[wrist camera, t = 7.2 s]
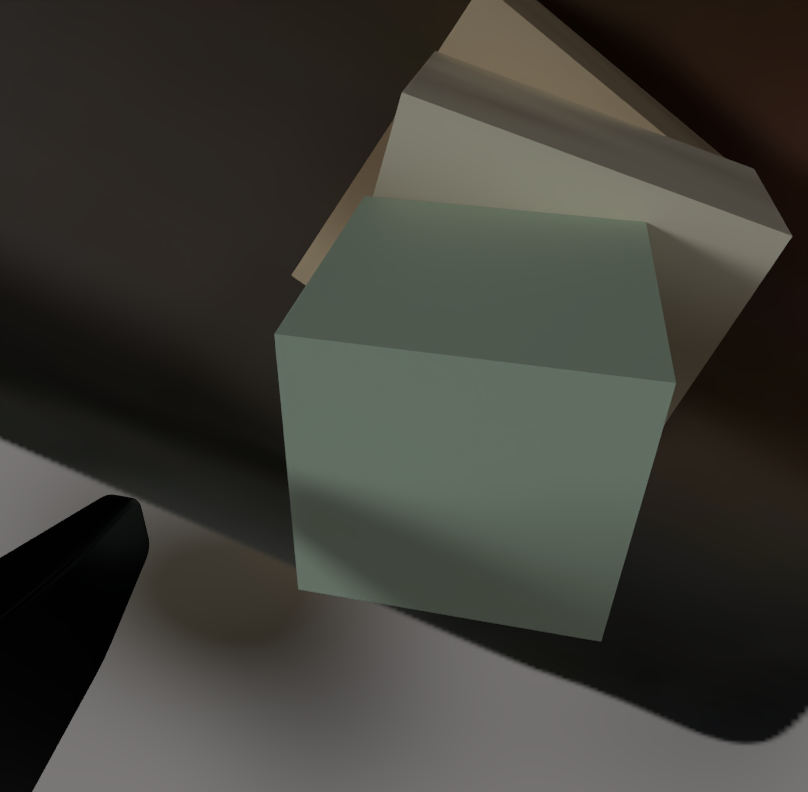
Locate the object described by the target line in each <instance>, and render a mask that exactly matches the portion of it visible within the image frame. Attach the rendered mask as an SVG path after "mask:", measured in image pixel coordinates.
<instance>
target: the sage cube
mask: <svg viewBox="0 0 808 792" xmlns="http://www.w3.org/2000/svg"><path fill="white" fill-rule="evenodd" d="M274 335H275V346H276V357H277V367H278V378H279V389H280V399H281V410H282V421H283V431H284V442H285V453H286V463H287V474H288V485H289V495H290V506H291V517H292V527H293V538H294V549H295V559H296V570H297V581H298V589H299V590H305V591H311V592H317V593H323V594H329V595H334V596H340V597H346V598H352V599H358V600H363V601H369V602H374V603H380V604H386V605H392V606H398V607H403V608H409V609H415V610H421V611H427V612H432V613H438V614H444V615H450V616H456V617H461V618H467V619H473V620H479V621H485V622H490V623H496V624H502V625H508V626H514V627H519V628H525V629H531V630H537V631H542V632H548V633H554V634H560V635H566V636H571V637H577V638H583V639H589V640H595V641H600V642H601V640H602V637H603V633H604V630H605V627H606V623H607V620H608V616H609V613H610V609H611V606H612V602H613V599H614V596H615V592H616V589H617V585H618V582H619V578H620V575H621V571H622V568H623V565H624V561H625V558H626V554H627V551H628V547H629V544H630V540H631V537H632V533H633V530H634V527H635V523H636V520H637V516H638V513H639V509H640V506H641V502H642V499H643V496H644V492H645V489H646V485H647V482H648V478H649V475H650V471H651V468H652V465H653V461H654V458H655V454H656V451H657V447H658V444H659V440H660V437H661V433H662V430H663V427H664V423H665V420H666V416H667V413H668V409H669V406H670V402H671V399H672V396H673V392H674V389H675V385H676V380H675V375H674V369H673V364H672V359H671V353H670V348H669V342H668V337H667V332H666V326H665V321H664V316H663V310H662V305H661V300H660V294H659V289H658V284H657V278H656V273H655V268H654V262H653V257H652V251H651V246H650V241H649V235H648V230H647V225H646V222H640V221H629V220H618V219H607V218H597V217H586V216H575V215H564V214H554V213H543V212H532V211H522V210H511V209H500V208H489V207H479V206H468V205H457V204H446V203H436V202H425V201H414V200H403V199H393V198H382V197H371V196H364V198H363V199H362V201H361V202H360V204H359V205H358V207H357V208H356V210H355V212H354V213H353V215H352V216H351V218H350V219H349V221H348V222H347V224H346V225H345V227H344V228H343V230H342V231H341V233H340V234H339V236H338V238H337V239H336V241H335V242H334V244H333V245H332V247H331V248H330V250H329V251H328V253H327V254H326V256H325V257H324V259H323V260H322V262H321V263H320V265H319V267H318V268H317V270H316V271H315V273H314V274H313V276H312V277H311V279H310V280H309V282H308V283H307V285H306V286H305V288H304V289H303V291H302V293H301V294H300V296H299V297H298V299H297V300H296V302H295V303H294V305H293V306H292V308H291V309H290V311H289V312H288V314H287V315H286V317H285V318H284V320H283V322H282V323H281V325H280V326H279V328H278V329H277V331H276V332H275V334H274Z"/></svg>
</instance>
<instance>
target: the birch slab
mask: <svg viewBox="0 0 808 792" xmlns="http://www.w3.org/2000/svg"><path fill="white" fill-rule="evenodd" d="M373 197H382V198H393V199H403V200H414V201H425V202H436V203H446V204H457V205H468V206H479V207H489V208H500V209H511V210H522V211H532V212H543V213H554V214H564V215H575V216H586V217H597V218H607V219H618V220H629V221H640V222H646V225H647V230H648V235H649V241H650V246H651V251H652V257H653V262H654V268H655V273H656V278H657V284H658V289H659V294H660V300H661V305H662V310H663V316H664V321H665V326H666V332H667V337H668V342H669V348H670V353H671V359H672V364H673V369H674V375H675V380H676V385H675V389H674V392H673V396H672V399H671V402H670V406H669V409H668V413H667V416H666V420H665V423H666V422H667V420H668V419H669V417H670V416H671V414H672V413H673V411H674V410H675V408H676V407H677V405H678V404H679V402H680V401H681V399H682V398H683V397H684V395H685V394H686V392H687V391H688V389H689V388H690V386H691V385H692V383H693V382H694V380H695V379H696V377H697V376H698V374H699V373H700V371H701V370H702V369H703V367H704V366H705V364H706V363H707V361H708V360H709V358H710V357H711V355H712V354H713V352H714V351H715V349H716V348H717V346H718V345H719V344H720V342H721V341H722V339H723V338H724V336H725V335H726V333H727V332H728V330H729V329H730V327H731V326H732V324H733V323H734V321H735V320H736V319H737V317H738V316H739V314H740V313H741V311H742V310H743V308H744V307H745V305H746V304H747V302H748V301H749V299H750V298H751V296H752V295H753V293H754V292H755V291H756V289H757V288H758V286H759V285H760V283H761V282H762V280H763V279H764V277H765V276H766V274H767V273H768V271H769V270H770V268H771V267H772V266H773V264H774V263H775V261H776V260H777V258H778V257H779V255H780V254H781V252H782V251H783V249H784V248H785V246H786V245H787V243H788V242H789V241H790V239H791V238H792V235H791V233H790V231H789V229H788V228H787V226H786V224H785V222H784V221H783V219H782V217H781V215H780V214H779V212H778V210H777V208H776V206H775V205H774V203H773V201H772V199H771V198H770V196H769V194H768V192H767V191H766V189H765V187H764V185H763V184H762V182H761V180H760V178H759V177H758V175H757V173H756V171H755V170H754V169H753V168H751V167H748V166H745V165H742V164H740V163H737V162H734V161H732V160H729V159H726V158H723V157H721V156H718V155H715V154H713V153H710V152H707V151H704V150H702V149H699V148H696V147H694V146H691V145H688V144H686V143H683V142H680V141H677V140H675V139H672V138H669V137H667V136H664V135H661V134H658V133H656V132H653V131H650V130H648V129H645V128H642V127H639V126H637V125H634V124H631V123H629V122H626V121H623V120H620V119H618V118H615V117H612V116H610V115H607V114H604V113H601V112H599V111H596V110H593V109H591V108H588V107H585V106H583V105H580V104H577V103H574V102H572V101H569V100H566V99H564V98H561V97H558V96H555V95H553V94H550V93H547V92H545V91H542V90H539V89H536V88H534V87H531V86H528V85H526V84H523V83H520V82H518V81H515V80H512V79H509V78H507V77H504V76H501V75H499V74H496V73H493V72H490V71H488V70H485V69H482V68H480V67H477V66H474V65H471V64H469V63H466V62H463V61H461V60H458V59H455V58H452V57H450V56H447V55H444V54H442V53H439V52H436V51H435V52H434V53H433V55H432V56H431V57H430V58H429V59H428V61H427V62H426V63H425V64H424V66H423V67H422V68H421V69H420V71H419V72H418V73H417V74H416V76H415V77H414V78H413V79H412V81H411V82H410V83H409V84H408V86H407V87H406V88H405V89H404V90H403V92H402V94H401V97H400V101H399V105H398V108H397V112H396V115H395V119H394V122H393V126H392V130H391V133H390V137H389V140H388V144H387V148H386V151H385V155H384V158H383V162H382V165H381V169H380V173H379V176H378V180H377V183H376V187H375V190H374V194H373ZM665 423H664V424H665Z"/></svg>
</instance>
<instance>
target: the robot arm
mask: <svg viewBox="0 0 808 792" xmlns="http://www.w3.org/2000/svg"><path fill="white" fill-rule="evenodd" d="M148 551H149V538H148V534H147V530H146V525H145V521H144V517H143V513H142V509H141V505H140V503H139V502H138V501H137V500H136V499H134V498H129V497H124V496H118V495H106V496H104V497H102V498H100V499H98V500H96V501H95V502H93V503H91V504H90V505H88V506H86V507H85V508H83V509H81V510H80V511H78V512H76V513H75V514H73V515H71V516H70V517H68V518H66V519H65V520H63V521H61V522H60V523H58V524H56V525H54V526H53V527H51V528H49V529H48V530H46V531H44V532H43V533H41V534H39V535H38V536H36V537H34V538H33V539H31V540H29V541H28V542H26V543H24V544H23V545H21V546H19V547H18V548H16V549H15V550H13V551H11V552H9V553H8V554H6V555H4V556H3V557H1V558H0V792H32V791H33V789H34V787H35V785H36V784H37V782H38V780H39V778H40V776H41V774H42V773H43V771H44V769H45V767H46V765H47V764H48V762H49V760H50V758H51V756H52V754H53V752H54V751H55V749H56V747H57V745H58V743H59V741H60V740H61V738H62V736H63V734H64V732H65V731H66V729H67V727H68V725H69V723H70V721H71V719H72V717H73V716H74V714H75V712H76V710H77V709H78V707H79V705H80V703H81V701H82V700H83V698H84V696H85V694H86V692H87V690H88V689H89V686H90V685H91V683H92V681H93V679H94V677H95V676H96V674H97V672H98V670H99V668H100V666H101V664H102V662H103V660H104V658H105V656H106V653H107V651H108V649H109V647H110V644H111V642H112V640H113V638H114V635H115V633H116V630H117V628H118V626H119V623H120V621H121V618H122V616H123V613H124V611H125V609H126V606H127V604H128V601H129V599H130V597H131V594H132V592H133V589H134V587H135V585H136V582H137V580H138V577H139V575H140V573H141V570H142V568H143V565H144V563H145V560H146V558H147V554H148Z"/></svg>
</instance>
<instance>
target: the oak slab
mask: <svg viewBox="0 0 808 792" xmlns="http://www.w3.org/2000/svg"><path fill="white" fill-rule="evenodd" d="M438 52H439V53H442V54H444V55H447V56H450V57H452V58H455V59H458V60H461V61H463V62H466V63H469V64H471V65H474V66H477V67H480V68H482V69H485V70H488V71H490V72H493V73H496V74H499V75H501V76H504V77H507V78H509V79H512V80H515V81H518V82H520V83H523V84H526V85H528V86H531V87H534V88H536V89H539V90H542V91H545V92H547V93H550V94H553V95H555V96H558V97H561V98H564V99H566V100H569V101H572V102H574V103H577V104H580V105H583V106H585V107H588V108H591V109H593V110H596V111H599V112H601V113H604V114H607V115H610V116H612V117H615V118H618V119H620V120H623V121H626V122H629V123H631V124H634V125H637V126H639V127H642V128H645V129H648V130H650V131H653V132H656V133H658V134H661V135H664V136H667V137H669V138H672V139H675V140H677V141H680V142H683V143H686V144H688V145H691V146H694V147H696V148H699V149H702V150H704V151H707V152H710V153H713V154H715V155H718V156H721V157H723V156H722V155H721V154H719V153H718V152H717V151H716V150H715V149H714V148H712V147H711V146H710V145H709V144H708V143H706V142H705V141H704V140H703V139H702V138H700V137H699V136H698V135H697V134H696V133H694V132H693V131H692V130H691V129H690V128H688V127H687V126H686V125H685V124H684V123H683V122H681V121H680V120H679V119H678V118H677V117H675V116H674V115H673V114H672V113H671V112H669V111H668V110H667V109H666V108H665V107H663V106H662V105H661V104H660V103H659V102H657V101H656V100H655V99H654V98H653V97H651V96H650V95H649V94H648V93H647V92H646V91H644V90H643V89H642V88H641V87H640V86H638V85H637V84H636V83H635V82H634V81H632V80H631V79H630V78H629V77H628V76H626V75H625V74H624V73H623V72H622V71H620V70H619V69H618V68H617V67H616V66H615V65H613V64H612V63H611V62H610V61H609V60H607V59H606V58H605V57H604V56H603V55H601V54H600V53H599V52H598V51H597V50H595V49H594V48H593V47H592V46H591V45H589V44H588V43H587V42H586V41H585V40H584V39H582V38H581V37H580V36H579V35H578V34H576V33H575V32H574V31H573V30H572V29H570V28H569V27H568V26H567V25H566V24H564V23H563V22H562V21H561V20H560V19H558V18H557V17H556V16H555V15H554V14H552V13H551V12H550V11H549V10H548V9H547V8H545V7H544V6H543V5H542V4H541V3H539V2H538V1H537V0H472V1H471V2H470V4H469V5H468V7H467V8H466V10H465V11H464V13H463V14H462V16H461V17H460V19H459V21H458V22H457V24H456V25H455V27H454V28H453V30H452V31H451V33H450V34H449V36H448V37H447V39H446V40H445V42H444V43H443V45H442V46H441V48H440V50H439V51H438ZM394 119H395V118H394ZM393 122H394V120H393V121H392V123H391V124H390V126H389V127H388V129H387V130H386V132H385V133H384V135H383V136H382V138H381V140H380V141H379V143H378V144H377V146H376V147H375V149H374V150H373V152H372V153H371V155H370V156H369V158H368V159H367V161H366V162H365V164H364V165H363V167H362V168H361V170H360V172H359V173H358V175H357V176H356V178H355V179H354V181H353V182H352V184H351V185H350V187H349V188H348V190H347V191H346V193H345V194H344V196H343V197H342V199H341V201H340V202H339V204H338V205H337V207H336V208H335V210H334V211H333V213H332V214H331V216H330V217H329V219H328V220H327V222H326V223H325V225H324V226H323V228H322V229H321V231H320V233H319V234H318V236H317V237H316V239H315V240H314V242H313V243H312V245H311V246H310V248H309V249H308V251H307V252H306V254H305V255H304V257H303V258H302V260H301V262H300V263H299V265H298V266H297V268H296V269H295V271H294V272H293V274H292V276H293V277H294V278H296V279H297V280H299V281H300V282H302V283H303V284H305V285H307V283H308V282H309V280H310V279H311V277H312V276H313V274H314V273H315V271H316V270H317V268H318V267H319V265H320V263H321V262H322V260H323V259H324V257H325V256H326V254H327V253H328V251H329V250H330V248H331V247H332V245H333V244H334V242H335V241H336V239H337V238H338V236H339V234H340V233H341V231H342V230H343V228H344V227H345V225H346V224H347V222H348V221H349V219H350V218H351V216H352V215H353V213H354V212H355V210H356V208H357V207H358V205H359V204H360V202H361V201H362V199H363V198H364V196H371V197H373V194H374V190H375V187H376V183H377V180H378V176H379V173H380V169H381V165H382V162H383V158H384V155H385V151H386V148H387V144H388V140H389V137H390V133H391V130H392V126H393ZM723 158H724V157H723Z"/></svg>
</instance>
